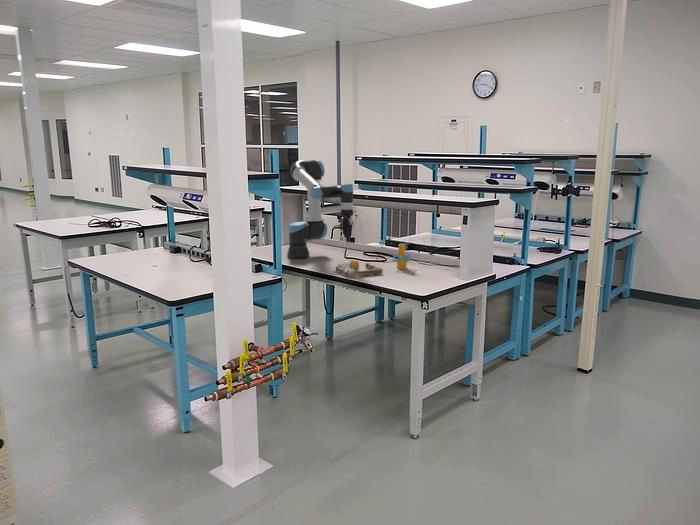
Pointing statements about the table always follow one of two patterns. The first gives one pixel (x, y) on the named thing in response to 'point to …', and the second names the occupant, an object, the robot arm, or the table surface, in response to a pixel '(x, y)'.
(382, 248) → the table surface
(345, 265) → the lane tape
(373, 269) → the pin pen
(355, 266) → the ball
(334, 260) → the table surface
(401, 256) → the orange toy figure
